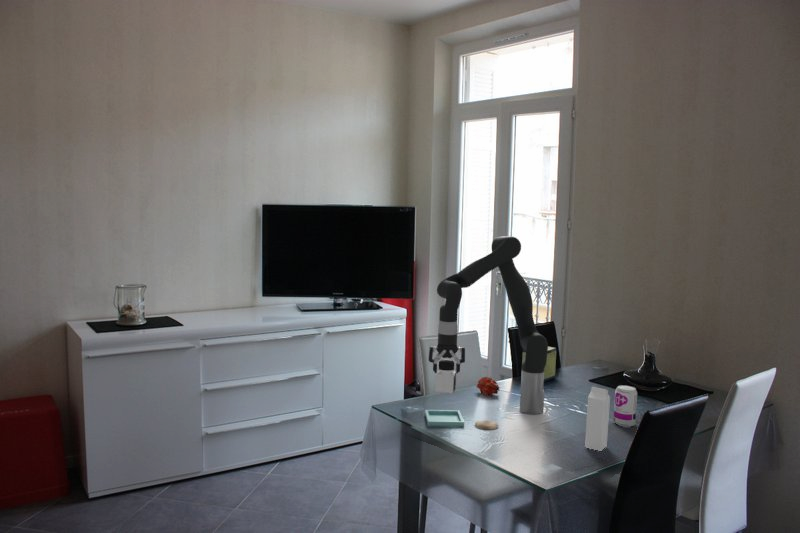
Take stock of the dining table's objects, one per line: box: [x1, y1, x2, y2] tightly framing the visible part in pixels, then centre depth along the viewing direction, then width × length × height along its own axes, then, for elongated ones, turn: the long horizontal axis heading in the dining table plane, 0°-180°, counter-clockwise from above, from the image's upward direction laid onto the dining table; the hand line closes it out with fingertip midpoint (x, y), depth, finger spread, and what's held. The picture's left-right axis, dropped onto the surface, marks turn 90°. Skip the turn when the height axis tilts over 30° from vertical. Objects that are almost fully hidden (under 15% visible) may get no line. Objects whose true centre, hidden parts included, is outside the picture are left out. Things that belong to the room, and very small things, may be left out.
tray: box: [424, 409, 465, 428], centre depth 262 cm, size 14×14×2 cm
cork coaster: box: [474, 420, 499, 431], centre depth 257 cm, size 9×9×1 cm
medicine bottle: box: [435, 358, 457, 394], centre depth 260 cm, size 7×7×12 cm
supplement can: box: [613, 384, 638, 427], centre depth 263 cm, size 8×8×15 cm
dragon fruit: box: [476, 376, 500, 397], centre depth 298 cm, size 8×8×12 cm
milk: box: [584, 386, 611, 452], centre depth 237 cm, size 6×6×22 cm
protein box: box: [521, 345, 557, 383], centre depth 326 cm, size 10×16×16 cm
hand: (446, 372), depth 260 cm, fingers closed on medicine bottle, 8 cm apart
